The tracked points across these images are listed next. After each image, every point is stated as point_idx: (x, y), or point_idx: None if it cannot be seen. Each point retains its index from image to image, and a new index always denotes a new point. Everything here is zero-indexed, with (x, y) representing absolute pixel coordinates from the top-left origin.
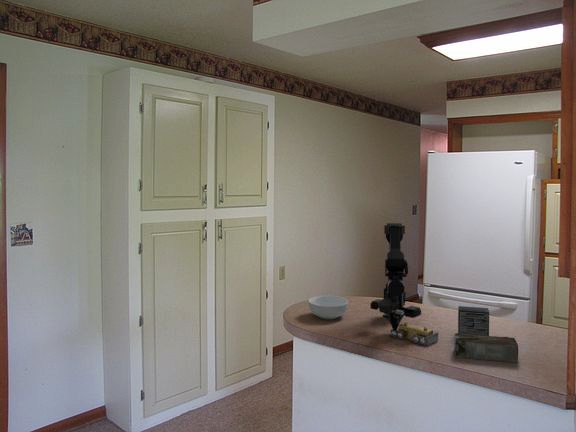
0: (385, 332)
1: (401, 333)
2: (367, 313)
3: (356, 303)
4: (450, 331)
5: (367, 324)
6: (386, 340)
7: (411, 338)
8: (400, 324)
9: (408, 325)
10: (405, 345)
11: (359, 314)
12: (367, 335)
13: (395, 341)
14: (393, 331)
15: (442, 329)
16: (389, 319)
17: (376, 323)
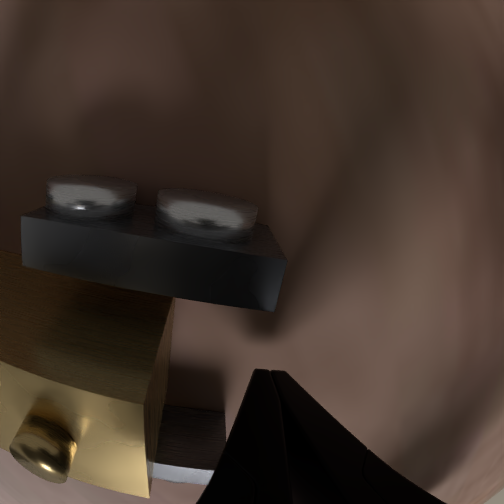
0: (370, 325)
1: (48, 209)
2: (466, 480)
3: (480, 495)
4: (14, 481)
5: (497, 386)
6: (254, 26)
7: (2, 256)
8: (134, 442)
9: (15, 428)
10: (5, 33)
11: (498, 451)
12: (493, 122)
13: (126, 58)
14: (207, 214)
15: (53, 499)
16: (400, 477)
17: (446, 437)
